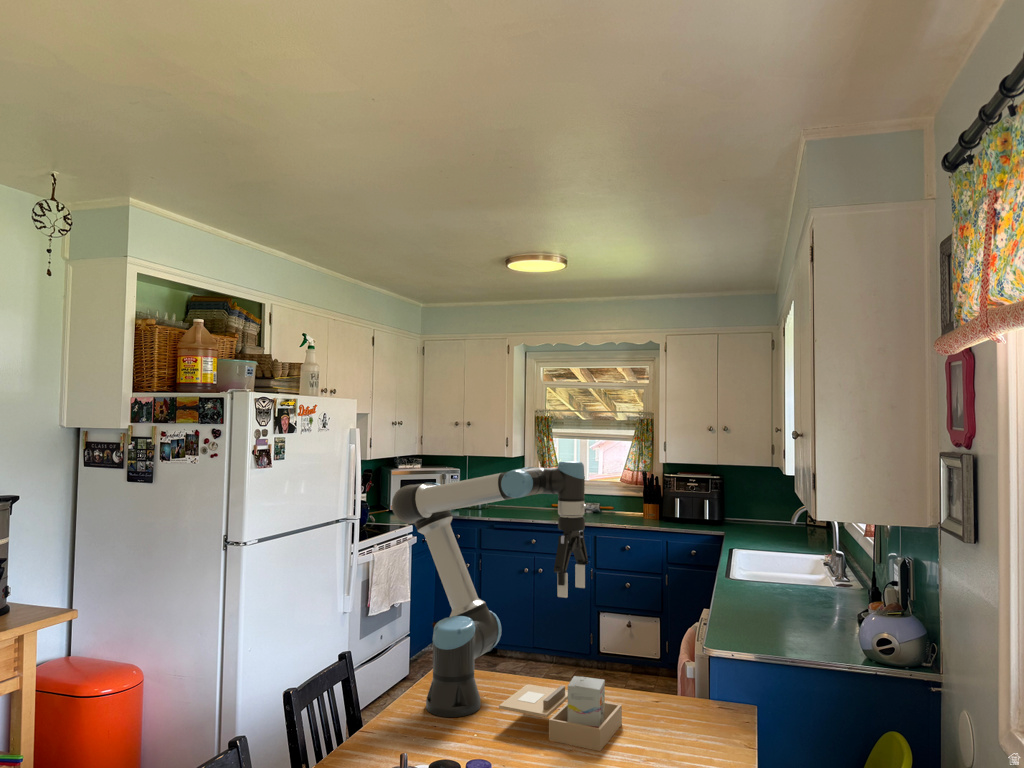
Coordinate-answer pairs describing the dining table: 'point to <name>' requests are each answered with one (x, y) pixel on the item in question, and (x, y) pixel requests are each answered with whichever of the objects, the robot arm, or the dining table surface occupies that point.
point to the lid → (536, 700)
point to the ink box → (586, 701)
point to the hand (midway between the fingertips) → (571, 592)
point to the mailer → (585, 728)
